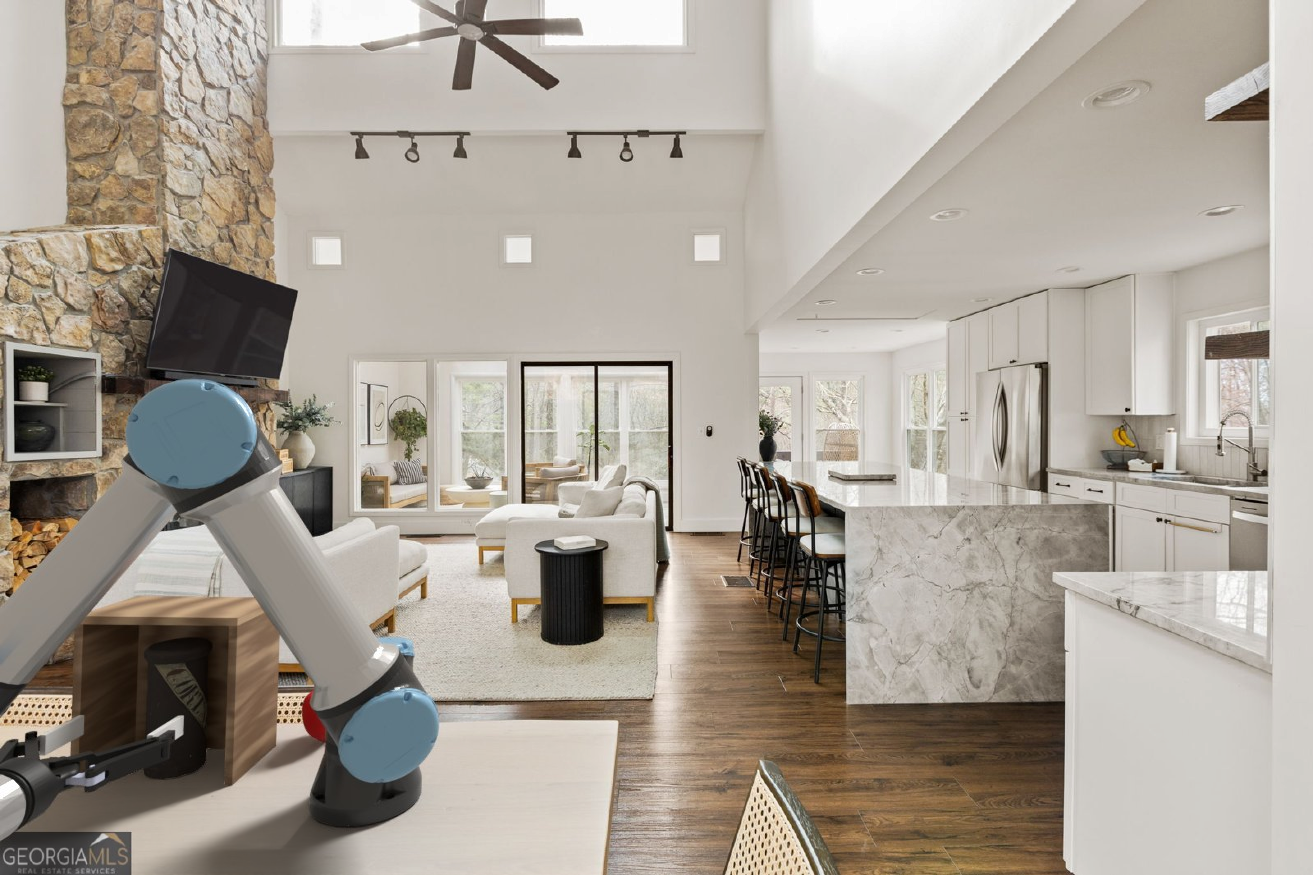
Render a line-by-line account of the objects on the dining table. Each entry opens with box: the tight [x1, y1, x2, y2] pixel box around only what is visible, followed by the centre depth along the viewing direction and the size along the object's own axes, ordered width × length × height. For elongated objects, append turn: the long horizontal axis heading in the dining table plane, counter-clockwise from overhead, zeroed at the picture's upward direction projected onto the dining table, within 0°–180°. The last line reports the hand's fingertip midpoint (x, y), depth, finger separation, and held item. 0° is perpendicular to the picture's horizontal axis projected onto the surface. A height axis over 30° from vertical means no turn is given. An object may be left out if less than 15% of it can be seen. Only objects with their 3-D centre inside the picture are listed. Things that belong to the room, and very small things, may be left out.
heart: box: [301, 690, 326, 742], centre depth 117 cm, size 12×5×10 cm, turn 3°
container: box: [142, 637, 213, 780], centre depth 107 cm, size 9×9×20 cm
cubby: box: [69, 595, 281, 787], centre depth 108 cm, size 23×13×25 cm, turn 94°
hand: (131, 724), depth 96 cm, fingers open, 13 cm apart
